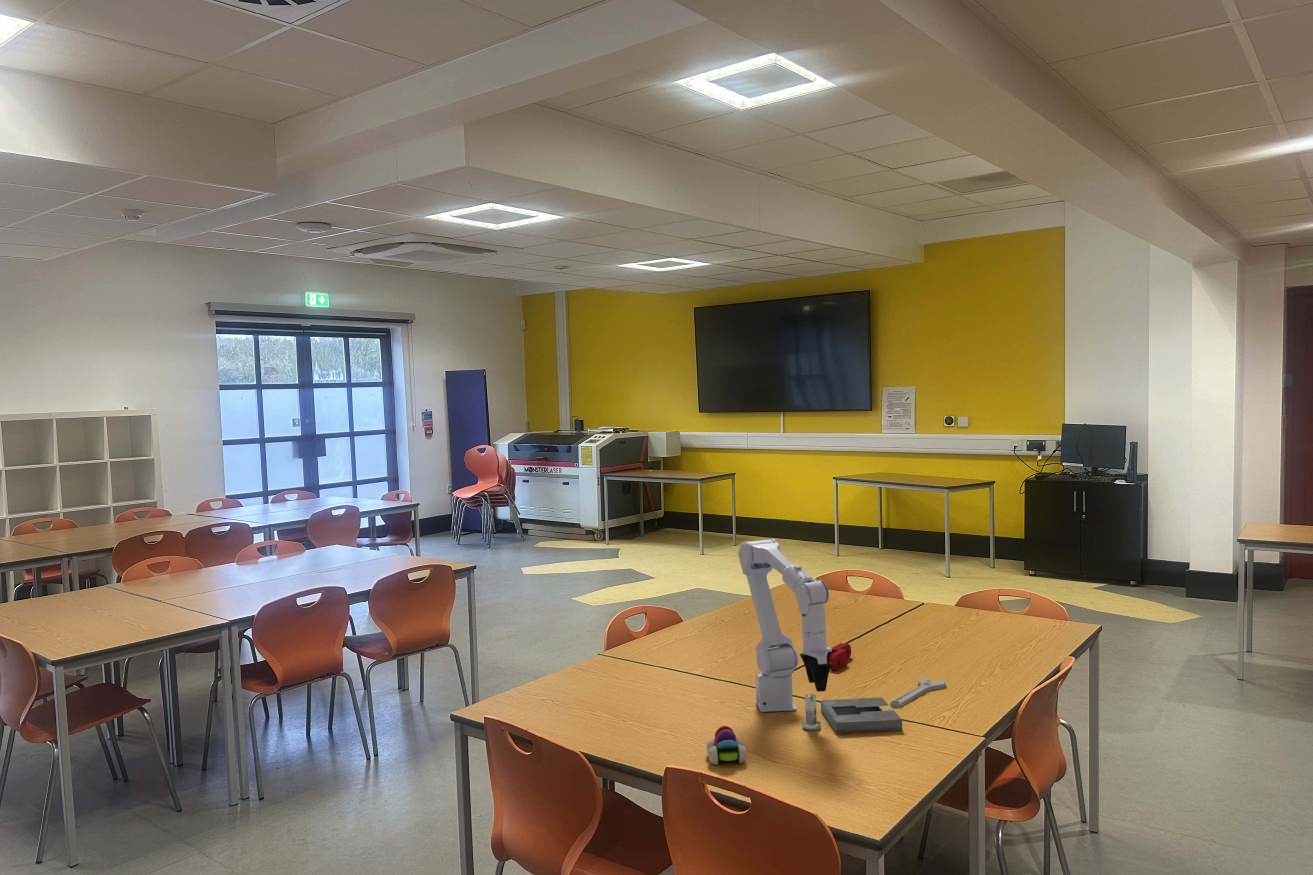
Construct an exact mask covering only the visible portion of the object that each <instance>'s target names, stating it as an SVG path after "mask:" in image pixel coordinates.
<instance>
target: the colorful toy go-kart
mask: <svg viewBox="0 0 1313 875" xmlns="http://www.w3.org/2000/svg"><path fill="white" fill-rule="evenodd" d="M747 752H748V751H747V748H746V747H745V742H744V741H743V740H742V739H741V738H739V737H737V736H736V733H735V731H734V730H733V728H731V727H730V726H727V725H721V726H720V727H718V728H717V730H716V731H715V733H714V738H711V739H709V740H708V741H707V743H706V753H707V754H708V761H709V762H710V763H711V764H713V765H715V766H718V765H719V760H720V761H723V762H724V761H725V762H731V761H736V760H737V762H738V764H743V763H744V762H746V760H747V758H748V753H747Z"/></svg>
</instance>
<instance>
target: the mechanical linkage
mask: <svg viewBox="0 0 1313 875" xmlns="http://www.w3.org/2000/svg"><path fill="white" fill-rule="evenodd" d="M831 648H832V651H831V652H828V653H827V655H826V656H827V662H832V663H833V665H832V668H831V670H830V671H836V672H837V671H839V670H842V669H843V668H845V667H847V666H848V660H849V659H851V655H852V647H851V645H850V644H849V643H843V642H840V643H838V644H837V645H834V646H833V647H832V646H831Z"/></svg>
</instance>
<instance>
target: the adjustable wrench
mask: <svg viewBox="0 0 1313 875" xmlns="http://www.w3.org/2000/svg"><path fill="white" fill-rule="evenodd" d="M917 681H918V682H917V687H914V689H911V690H909V691H907V692H905V693H904V694H902V695H900V696H898V697H896V698H893V700H891V701H890V702H889V703H890V705H889V706H890V707H891V708H894V709H897V708H901V707H903V706H904V705H906V704H908V703H909V702H911V701H913V700H915V699H917V698H919V697H920V696H922V695H924V694H926V693H927V692H931V691H935V690H936V691H937V690H940V689H941V690H942V689H945V688H946V683H947V682H946V681H945V679H942V678H941V679H940V680H939V681H931V678H930V677H926V678H922V679H920V680H917Z"/></svg>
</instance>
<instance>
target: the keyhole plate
mask: <svg viewBox="0 0 1313 875" xmlns="http://www.w3.org/2000/svg"><path fill="white" fill-rule="evenodd" d="M820 712H821V713H822V715H823V717H824V718H825V719H826V721H827V722H828V724H829V725H830V727H831V728H832V730H833V731H834V733H835V734H836V735H845V734H846V735H849V734H867V733H870V734H872V733H886V732H888V733H889V732H903V719H902V717H901V716H900V715H899V714H898V713H897V712H896V711H895V710H894V709H893V707H891V706H890V705H889V704H888V702H886V701H885V699H884V697H882V696H880V697H879V696H878V697H861V698H843V699H842V698H841V699H823V700H820Z"/></svg>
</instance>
